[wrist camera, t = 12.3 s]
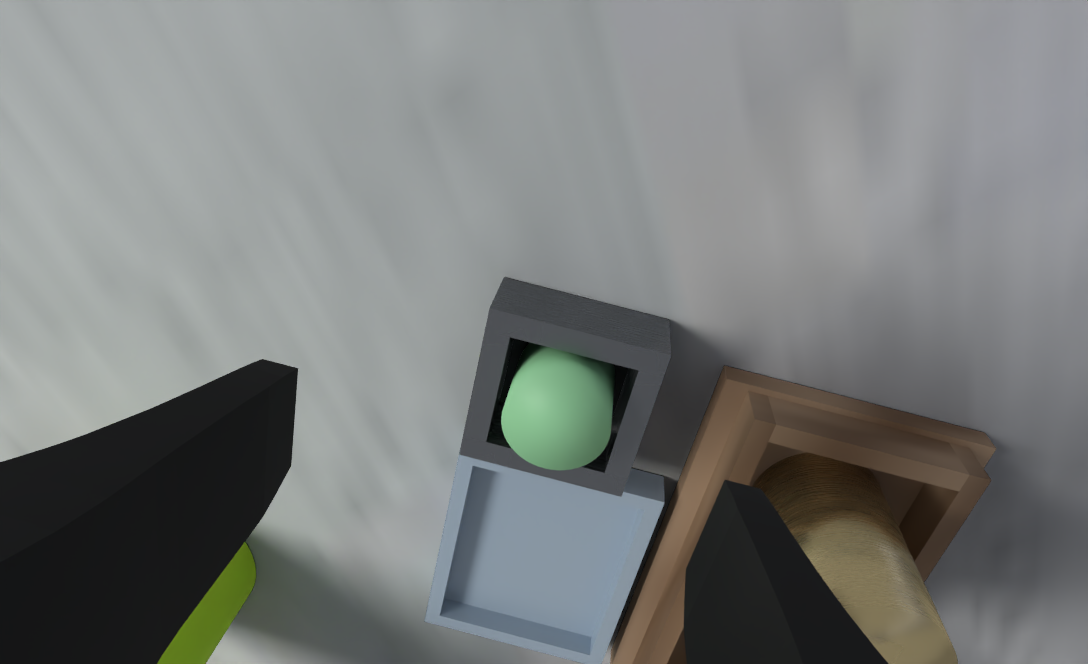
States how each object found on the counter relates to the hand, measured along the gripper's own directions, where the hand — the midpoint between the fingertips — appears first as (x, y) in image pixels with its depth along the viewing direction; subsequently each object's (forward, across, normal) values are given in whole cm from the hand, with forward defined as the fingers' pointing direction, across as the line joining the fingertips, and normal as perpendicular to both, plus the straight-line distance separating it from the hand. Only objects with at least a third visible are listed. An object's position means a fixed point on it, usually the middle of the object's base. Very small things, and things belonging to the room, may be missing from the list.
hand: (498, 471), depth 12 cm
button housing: (+10, -1, +4) cm, 11 cm away
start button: (+10, -1, +4) cm, 10 cm away
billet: (+9, -10, +6) cm, 14 cm away
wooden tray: (+10, -10, +8) cm, 16 cm away
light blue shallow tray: (+10, -2, +10) cm, 15 cm away
